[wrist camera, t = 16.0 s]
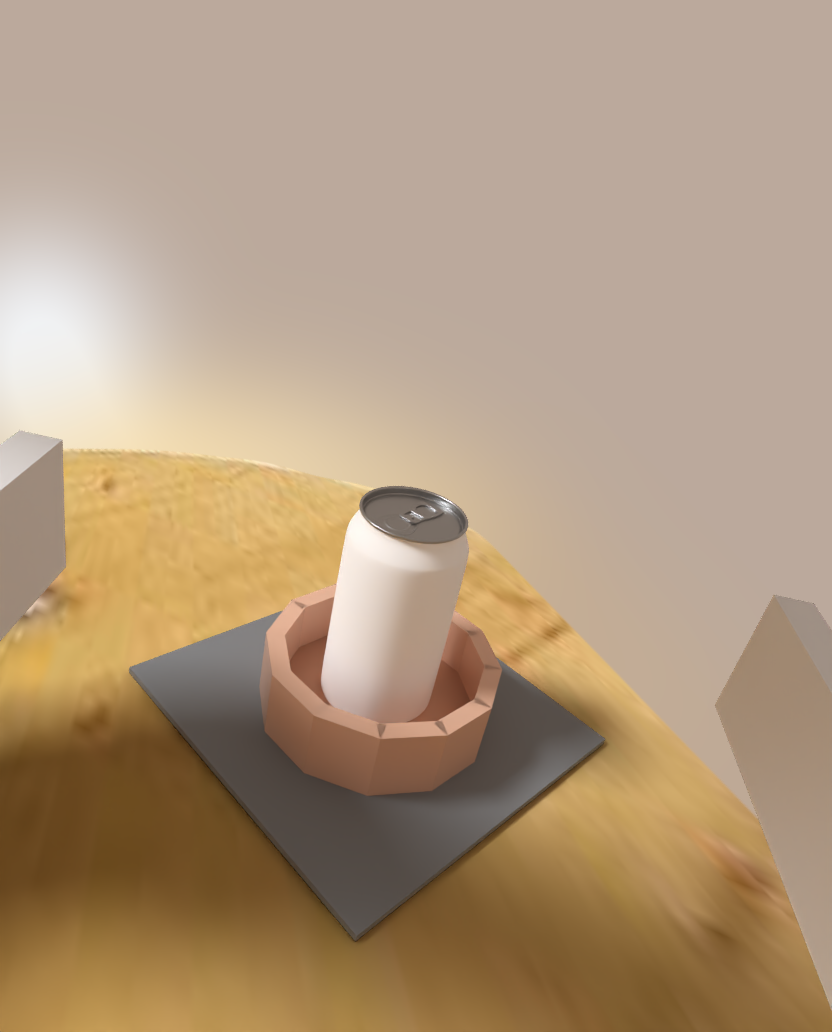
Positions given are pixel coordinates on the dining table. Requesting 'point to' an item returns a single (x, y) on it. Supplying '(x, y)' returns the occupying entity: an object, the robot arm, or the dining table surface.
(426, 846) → the mat
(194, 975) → the dining table surface
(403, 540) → the can
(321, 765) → the bowl
